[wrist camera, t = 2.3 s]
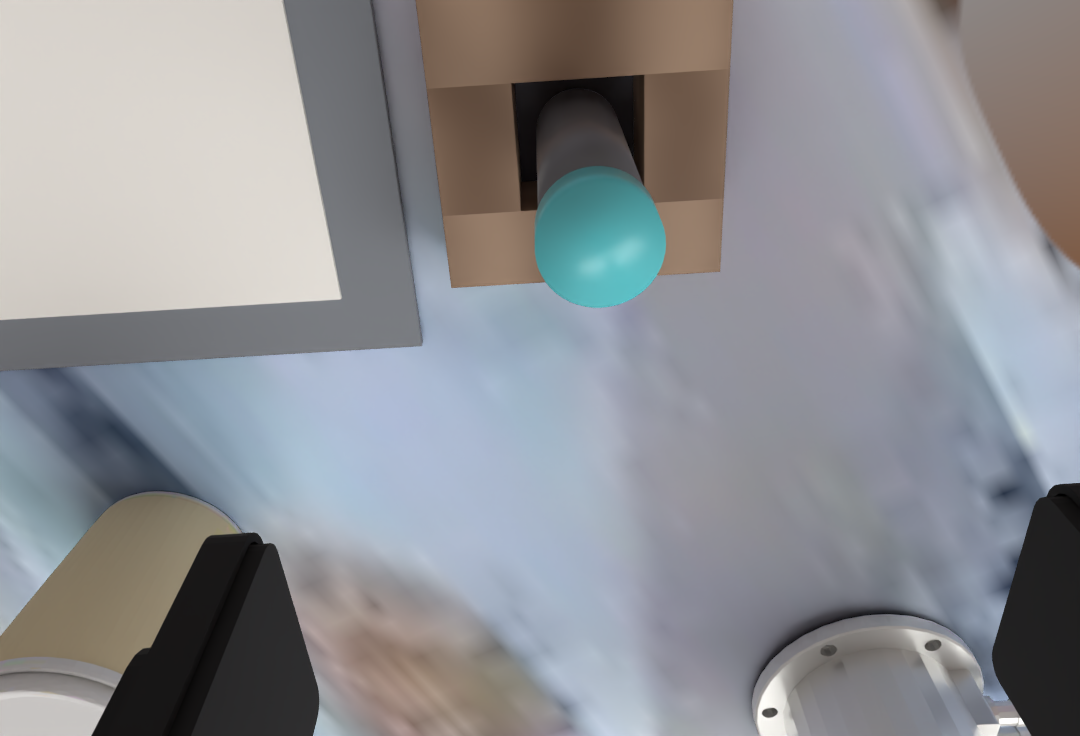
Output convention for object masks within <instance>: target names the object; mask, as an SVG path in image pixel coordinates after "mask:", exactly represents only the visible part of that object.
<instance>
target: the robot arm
mask: <svg viewBox="0 0 1080 736" xmlns="http://www.w3.org/2000/svg"><path fill="white" fill-rule="evenodd" d="M992 661H993V666H994V670H995V673H996V676H997V678H998V680H999V682H1000V684H1001V686H1002V687H1003V689H1004V691H1005V692H1006V694H1007V696H1008V697H1009V699H1008V700H1007V701H993V700H992V699H991V698H990V697H989V696H983V689H984V680H983V676H982V671H981V668H980V666H979V664H978V663H977V661H976V659H975V657H974V655H973V653H972V652H971V650H970V649H969V647H968V646H967V645H966V644H965V642H964V641H963V640H962V639H961V638H960V637H959V636H957V635H956V634H955V633H953V632H952V631H951V630H949V629H948V628H946V627H943V626H941V625H939V624H937V623H935V622H932V621H929V620H925V619H921V618H917V617H913V616H905V615H894V614H881V615H865V616H860V617H854V618H849V619H844V620H841V621H838V622H834V623H831V624H828V625H825V626H822V627H820V628H818V629H816V630H814V631H812V632H810V633H807V634H805V635H803V636H802V637H800V638H799V639H797V640H796V641H794V642H793V643H791V644H790V645H788V646H787V647H785V648H784V649H783V650H782V651H781V652H780V653H779V654H778V655H777V656H775V657H774V658H773V659H772V660H771V661H770V663H769V664H768V665H767V667H766V668H765V669H764V671H763V672H762V673H761V675H760V677H759V679H758V681H757V684H756V686H755V688H754V692H753V698H752V711H753V718H754V721H755V724H756V728H757V731H758V734H759V736H1080V483H1072V484H1059V485H1055V486H1053V487H1052V488H1051V489H1050V490H1049V492H1048V495H1047V497H1043V498H1040V499H1039V500H1038V501H1037V502H1036V504H1035V506H1034V509H1033V512H1032V516H1031V519H1030V523H1029V526H1028V529H1027V533H1026V536H1025V540H1024V543H1023V547H1022V550H1021V554H1020V557H1019V560H1018V564H1017V567H1016V571H1015V574H1014V578H1013V581H1012V585H1011V588H1010V591H1009V595H1008V598H1007V602H1006V605H1005V609H1004V612H1003V616H1002V619H1001V622H1000V626H999V629H998V633H997V636H996V640H995V643H994V646H993V652H992ZM318 710H319V691H318V686H317V683H316V679H315V676H314V672H313V669H312V666H311V662H310V659H309V656H308V652H307V649H306V645H305V642H304V639H303V635H302V632H301V628H300V625H299V622H298V618H297V615H296V612H295V608H294V605H293V601H292V598H291V595H290V591H289V588H288V585H287V581H286V578H285V574H284V571H283V568H282V564H281V561H280V558H279V554H278V551H277V549H276V547H275V545H274V544H271V543H269V544H263V542H262V539H261V537H260V536H259V535H258V534H257V533H239V534H223V535H210V536H209V537H207V538H206V539H205V541H204V542H203V544H202V545H201V547H200V549H199V551H198V553H197V555H196V557H195V559H194V561H193V563H192V565H191V567H190V570H189V572H188V574H187V576H186V578H185V580H184V582H183V584H182V586H181V588H180V590H179V592H178V594H177V596H176V598H175V600H174V602H173V604H172V606H171V608H170V610H169V612H168V614H167V616H166V618H165V620H164V622H163V624H162V626H161V628H160V630H159V632H158V634H157V636H156V638H155V640H154V642H153V644H152V646H151V647H150V648H143V649H142V650H140V651H139V652H138V653H137V654H135V655H134V657H133V658H132V660H131V661H130V663H129V664H128V666H127V668H126V669H125V671H124V673H123V675H122V677H121V679H120V681H119V683H118V685H117V687H116V689H115V691H114V693H113V695H112V697H111V698H110V700H109V702H108V704H107V706H106V708H105V710H104V712H103V714H102V716H101V718H100V720H99V722H98V724H97V726H96V728H95V729H94V731H93V733H92V735H91V736H313V733H314V729H315V725H316V721H317V716H318Z"/></svg>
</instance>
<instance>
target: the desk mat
mask: <svg viewBox="0 0 1080 736" xmlns="http://www.w3.org/2000/svg"><path fill="white" fill-rule="evenodd" d="M284 5H285V10H286V16H287V21H288V26H289V31H290V36H291V41H292V46H293V51H294V56H295V61H296V66H297V71H298V77H299V82H300V87H301V92H302V97H303V102H304V107H305V112H306V117H307V122H308V127H309V132H310V137H311V143H312V148H313V153H314V158H315V163H316V168H317V173H318V178H319V183H320V188H321V193H322V198H323V203H324V209H325V214H326V219H327V224H328V229H329V234H330V239H331V244H332V249H333V254H334V259H335V264H336V269H337V275H338V280H339V285H340V290H341V295H342V298H341V299H340V300H323V301H307V302H290V303H274V304H257V305H241V306H224V307H208V308H191V309H175V310H158V311H142V312H125V313H109V314H92V315H76V316H59V317H43V318H26V319H10V320H0V371H8V370H25V369H42V368H59V367H76V366H93V365H109V364H126V363H143V362H160V361H177V360H194V359H211V358H228V357H245V356H262V355H278V354H295V353H312V352H329V351H346V350H363V349H380V348H397V347H414V346H422V343H423V340H422V333H421V327H420V320H419V313H418V307H417V300H416V293H415V286H414V280H413V273H412V266H411V259H410V253H409V246H408V239H407V232H406V226H405V219H404V212H403V206H402V199H401V192H400V185H399V179H398V172H397V165H396V158H395V152H394V145H393V138H392V131H391V125H390V118H389V111H388V105H387V98H386V91H385V84H384V78H383V71H382V64H381V57H380V51H379V44H378V37H377V30H376V24H375V17H374V10H373V4H372V0H284Z"/></svg>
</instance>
